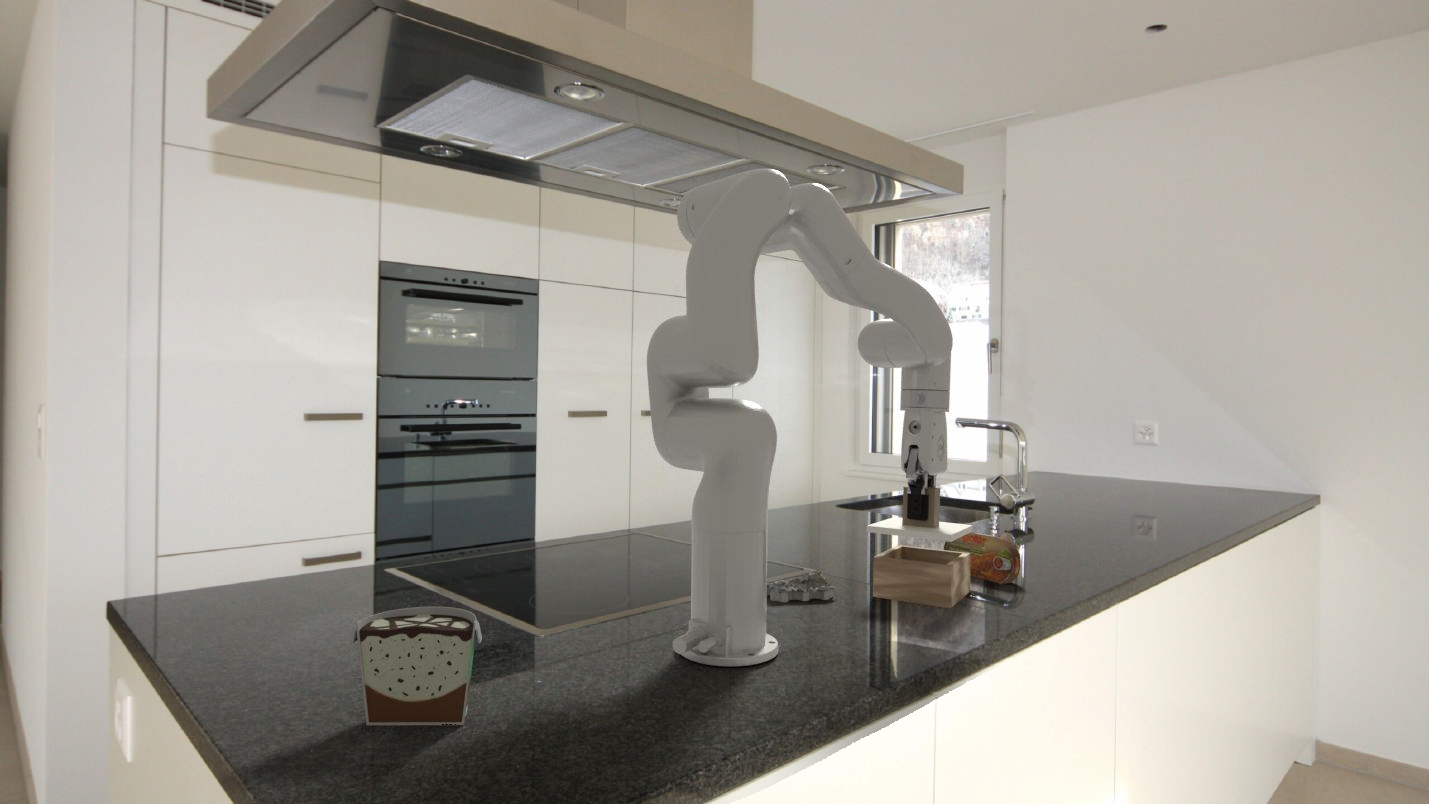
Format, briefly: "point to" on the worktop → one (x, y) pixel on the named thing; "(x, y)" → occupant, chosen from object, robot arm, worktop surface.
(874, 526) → the lid
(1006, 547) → the tin
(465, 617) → the food container
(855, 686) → the worktop surface
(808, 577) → the egg carton
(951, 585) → the box
